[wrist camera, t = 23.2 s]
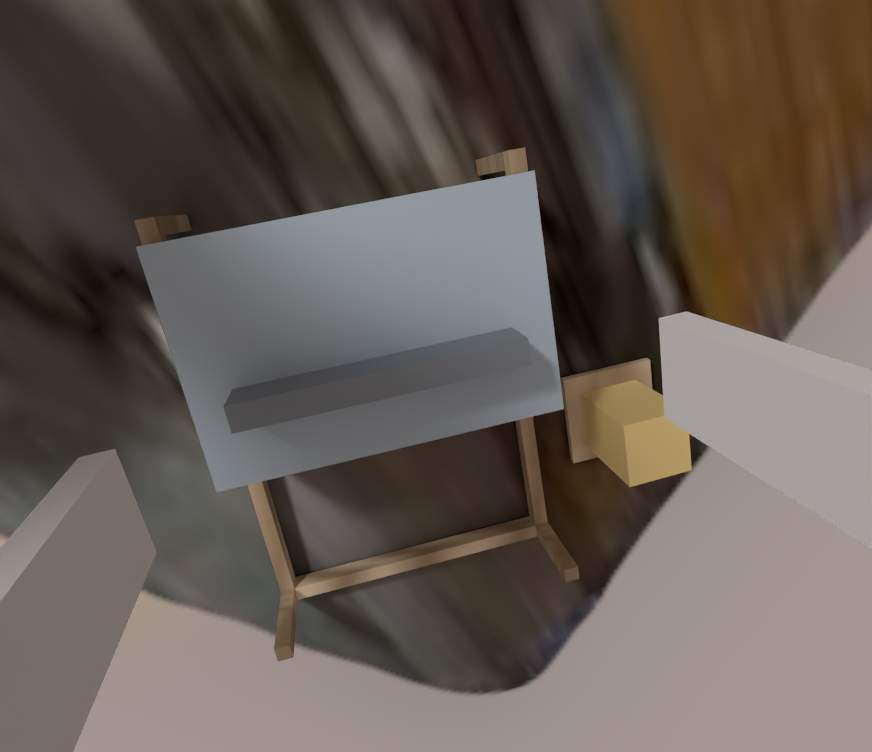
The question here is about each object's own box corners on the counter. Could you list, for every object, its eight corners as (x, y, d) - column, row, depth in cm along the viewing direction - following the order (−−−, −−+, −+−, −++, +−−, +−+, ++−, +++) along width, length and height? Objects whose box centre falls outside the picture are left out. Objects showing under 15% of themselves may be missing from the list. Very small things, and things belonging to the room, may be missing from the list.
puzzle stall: (285, 591, 46) (278, 661, 39) (170, 217, 37) (133, 220, 30) (542, 523, 48) (579, 578, 41) (490, 157, 40) (524, 147, 33)
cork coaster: (570, 460, 47) (573, 463, 47) (560, 377, 45) (563, 380, 45) (652, 439, 48) (656, 442, 48) (646, 357, 46) (650, 359, 45)
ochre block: (587, 446, 47) (630, 487, 40) (580, 393, 45) (623, 426, 39) (640, 432, 47) (691, 470, 40) (635, 379, 46) (687, 409, 39)
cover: (219, 486, 35) (206, 518, 31) (140, 245, 30) (115, 251, 27) (559, 404, 37) (584, 426, 33) (529, 171, 33) (554, 167, 29)
